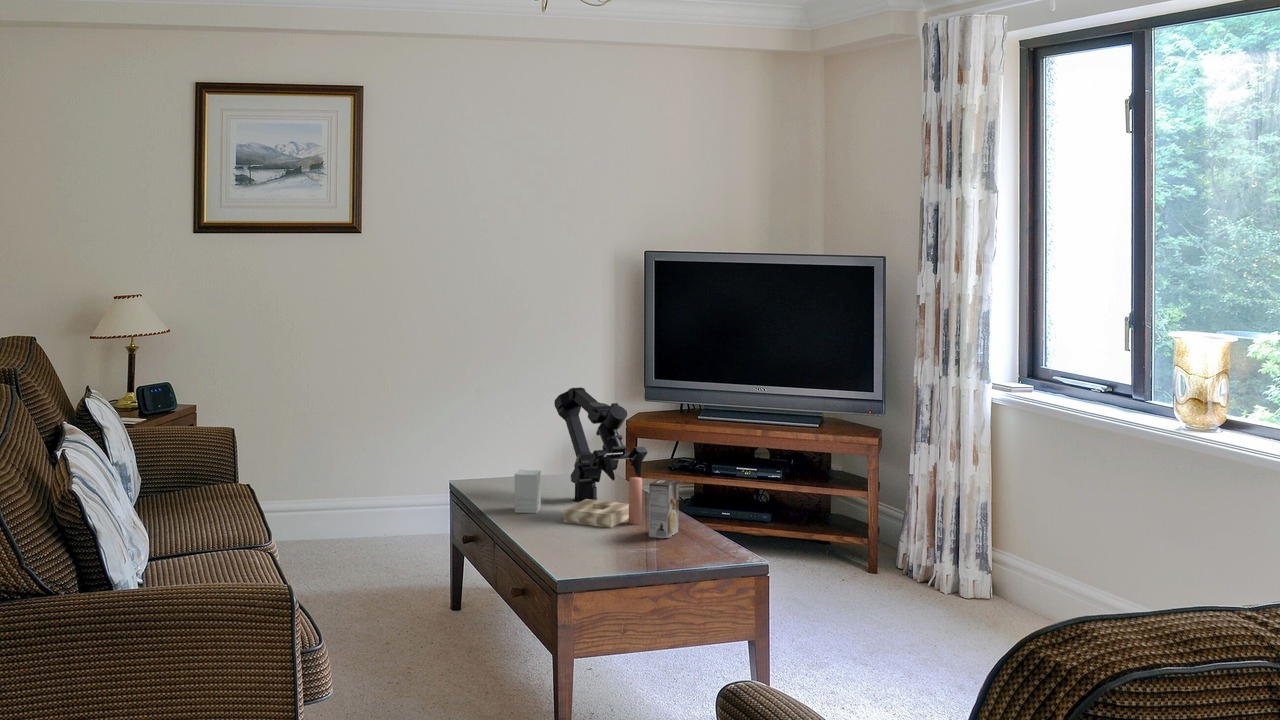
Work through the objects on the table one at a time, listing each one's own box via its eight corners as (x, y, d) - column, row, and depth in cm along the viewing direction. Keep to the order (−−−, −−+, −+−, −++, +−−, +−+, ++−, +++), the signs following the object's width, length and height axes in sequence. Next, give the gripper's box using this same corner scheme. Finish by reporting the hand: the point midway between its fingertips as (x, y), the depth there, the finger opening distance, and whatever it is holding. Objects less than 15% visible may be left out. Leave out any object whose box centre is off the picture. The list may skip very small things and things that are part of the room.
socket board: (563, 521, 337) (564, 509, 337) (586, 511, 352) (586, 498, 352) (611, 527, 331) (611, 515, 331) (631, 516, 346) (632, 504, 346)
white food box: (658, 529, 330) (660, 477, 329) (678, 532, 328) (680, 479, 326) (647, 537, 322) (649, 483, 320) (668, 539, 319) (669, 485, 318)
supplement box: (541, 508, 354) (541, 470, 353) (536, 513, 347) (537, 474, 346) (518, 507, 355) (519, 469, 354) (513, 512, 348) (514, 473, 347)
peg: (626, 523, 337) (627, 479, 336) (631, 520, 341) (632, 476, 339) (638, 525, 335) (639, 480, 334) (643, 522, 339) (644, 477, 338)
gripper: (627, 451, 360) (643, 490, 352) (576, 455, 351) (591, 495, 342) (639, 431, 353) (656, 470, 344) (588, 434, 343) (603, 475, 335)
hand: (626, 478), depth 342 cm, fingers open, 9 cm apart
